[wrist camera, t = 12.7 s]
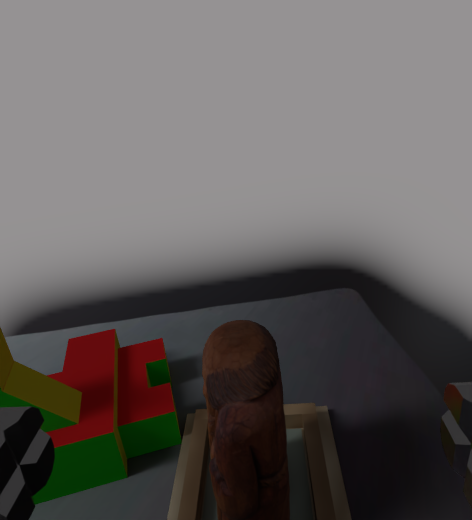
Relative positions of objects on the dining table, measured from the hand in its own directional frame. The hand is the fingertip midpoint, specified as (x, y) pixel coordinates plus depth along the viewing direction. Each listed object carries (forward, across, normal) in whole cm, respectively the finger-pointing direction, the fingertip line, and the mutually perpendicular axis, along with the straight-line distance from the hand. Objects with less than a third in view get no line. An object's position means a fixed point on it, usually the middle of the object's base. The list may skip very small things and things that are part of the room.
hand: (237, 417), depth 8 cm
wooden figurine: (+19, +2, +29) cm, 35 cm away
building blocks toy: (+30, +24, +30) cm, 49 cm away
